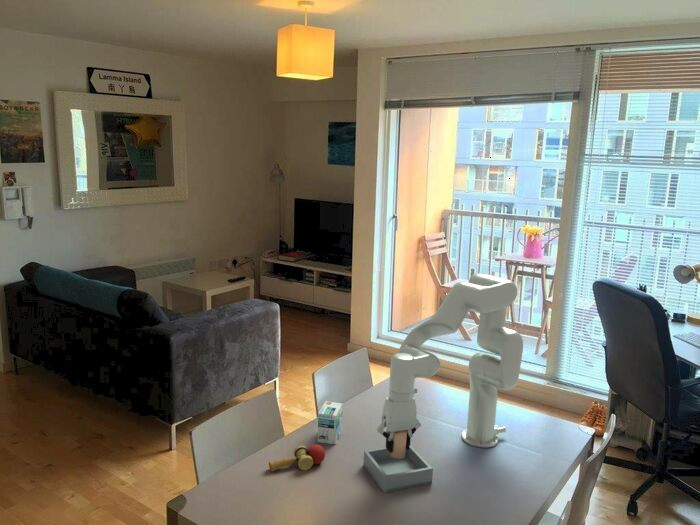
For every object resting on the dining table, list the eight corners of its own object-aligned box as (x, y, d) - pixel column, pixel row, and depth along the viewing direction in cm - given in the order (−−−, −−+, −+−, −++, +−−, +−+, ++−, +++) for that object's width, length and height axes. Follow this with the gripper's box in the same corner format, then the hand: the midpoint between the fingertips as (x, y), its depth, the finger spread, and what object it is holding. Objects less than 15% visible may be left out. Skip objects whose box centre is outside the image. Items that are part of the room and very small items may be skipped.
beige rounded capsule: (401, 449, 179) (402, 425, 178) (408, 457, 175) (409, 433, 173) (386, 451, 178) (388, 428, 176) (393, 459, 173) (395, 435, 172)
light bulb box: (335, 445, 194) (336, 415, 192) (316, 442, 195) (317, 413, 193) (342, 430, 204) (343, 402, 202) (324, 428, 206) (325, 400, 204)
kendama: (274, 482, 173) (329, 464, 180) (271, 462, 173) (326, 445, 179) (269, 473, 180) (322, 456, 187) (265, 454, 180) (319, 438, 186)
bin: (408, 457, 188) (408, 443, 187) (431, 483, 173) (433, 468, 172) (363, 465, 182) (364, 450, 181) (384, 493, 167) (385, 477, 167)
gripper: (420, 386, 179) (416, 439, 182) (370, 392, 173) (367, 447, 176) (431, 395, 172) (427, 451, 176) (380, 402, 166) (377, 459, 169)
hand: (397, 448), depth 176 cm, fingers closed on beige rounded capsule, 5 cm apart
